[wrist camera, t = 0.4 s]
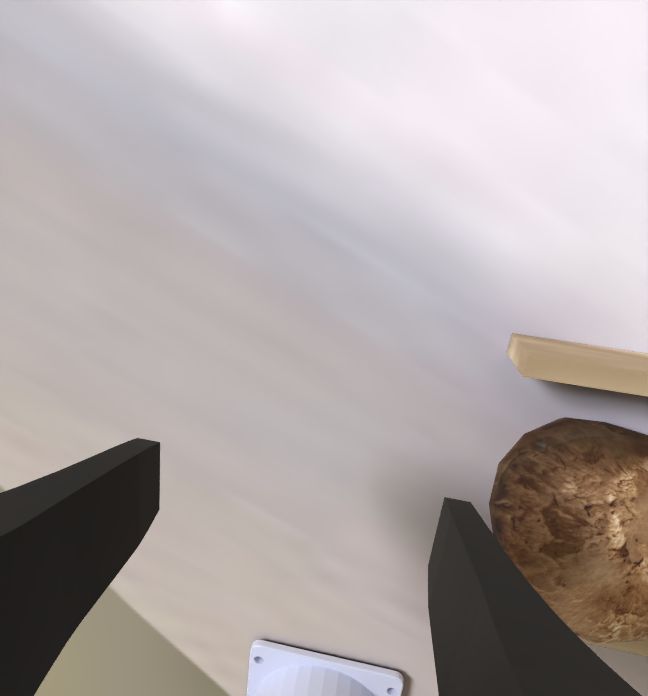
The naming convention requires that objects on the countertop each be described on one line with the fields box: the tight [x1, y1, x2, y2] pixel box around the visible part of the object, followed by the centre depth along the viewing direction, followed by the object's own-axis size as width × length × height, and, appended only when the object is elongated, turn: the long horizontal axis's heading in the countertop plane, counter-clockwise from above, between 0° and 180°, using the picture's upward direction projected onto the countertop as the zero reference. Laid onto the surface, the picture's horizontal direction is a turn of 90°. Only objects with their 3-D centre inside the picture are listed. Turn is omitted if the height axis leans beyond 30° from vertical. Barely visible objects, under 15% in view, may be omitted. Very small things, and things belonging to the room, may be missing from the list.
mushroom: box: [489, 418, 648, 643], centre depth 18 cm, size 8×8×6 cm
